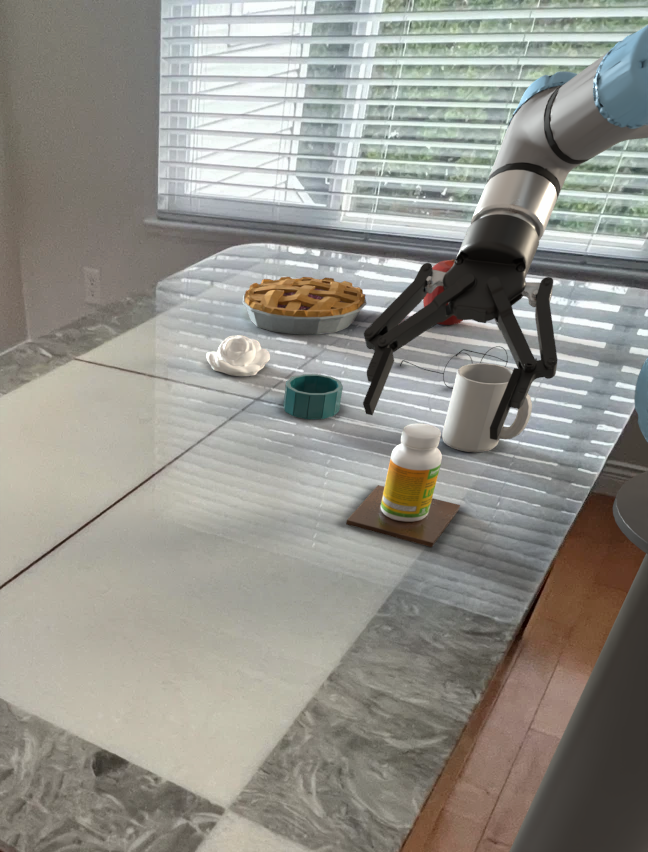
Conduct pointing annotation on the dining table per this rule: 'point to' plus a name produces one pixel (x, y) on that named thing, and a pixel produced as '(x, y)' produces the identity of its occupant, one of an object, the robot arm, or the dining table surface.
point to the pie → (303, 305)
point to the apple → (429, 297)
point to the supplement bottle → (412, 474)
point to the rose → (238, 356)
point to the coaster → (415, 531)
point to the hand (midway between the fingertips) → (428, 421)
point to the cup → (480, 408)
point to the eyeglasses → (456, 355)
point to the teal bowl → (312, 396)
